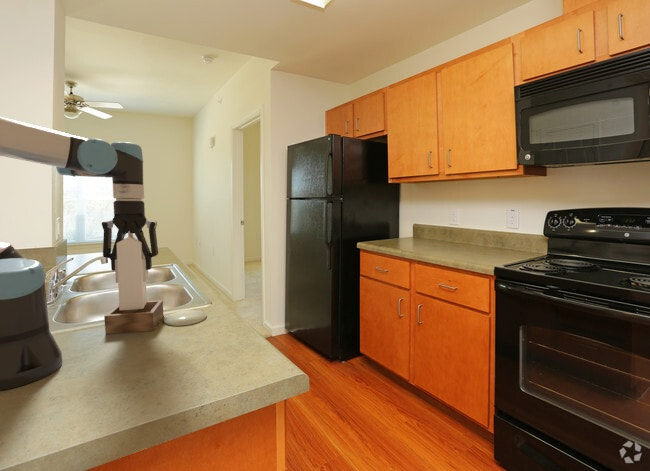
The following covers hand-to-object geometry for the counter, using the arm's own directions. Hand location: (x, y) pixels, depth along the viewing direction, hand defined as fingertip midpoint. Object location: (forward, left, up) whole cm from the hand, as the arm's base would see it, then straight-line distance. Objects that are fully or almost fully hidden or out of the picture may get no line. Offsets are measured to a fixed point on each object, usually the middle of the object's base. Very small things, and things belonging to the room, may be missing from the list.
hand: (132, 281), depth 99 cm
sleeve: (0, 0, -13) cm, 13 cm away
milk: (0, 0, -8) cm, 8 cm away
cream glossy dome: (+13, +2, -13) cm, 19 cm away
